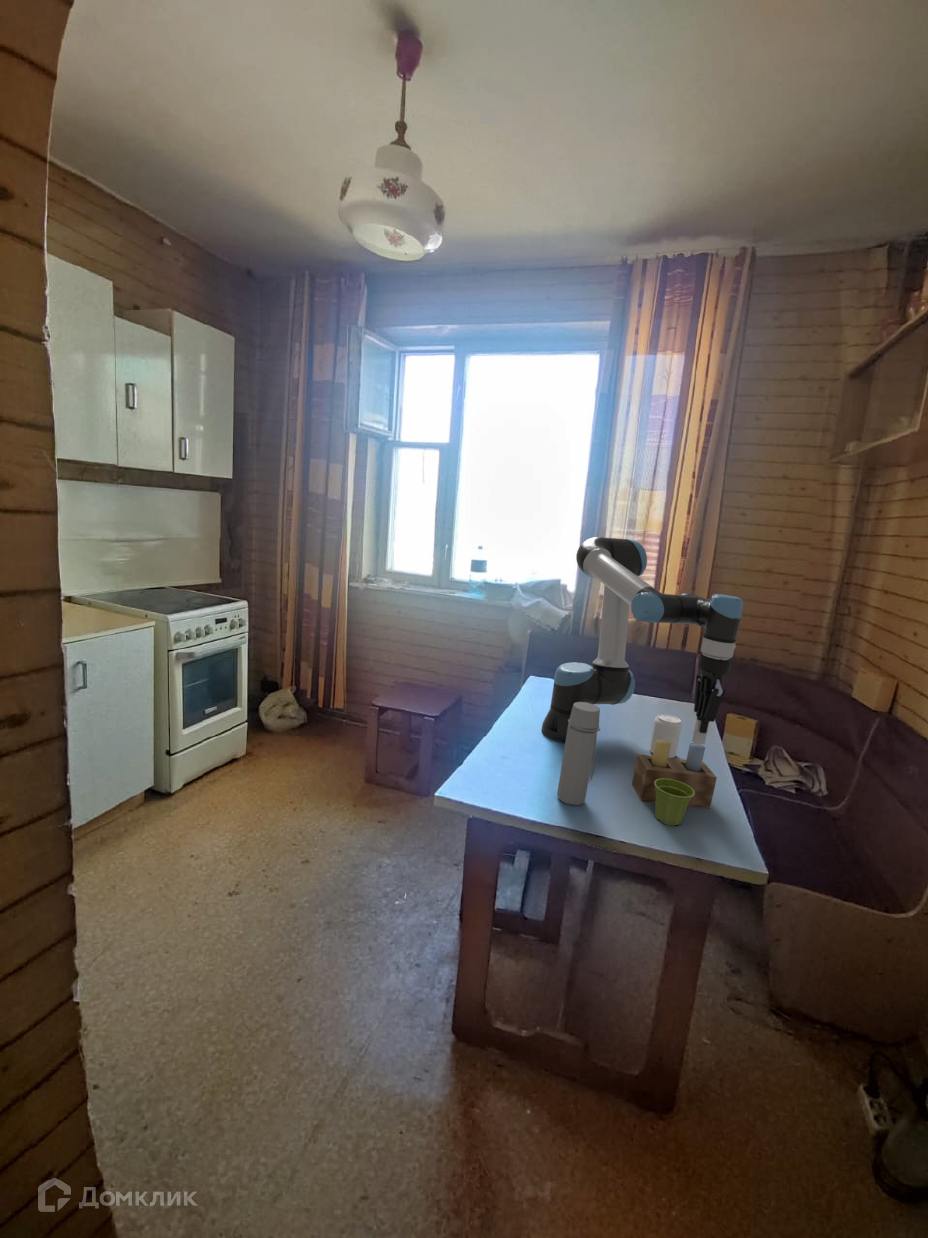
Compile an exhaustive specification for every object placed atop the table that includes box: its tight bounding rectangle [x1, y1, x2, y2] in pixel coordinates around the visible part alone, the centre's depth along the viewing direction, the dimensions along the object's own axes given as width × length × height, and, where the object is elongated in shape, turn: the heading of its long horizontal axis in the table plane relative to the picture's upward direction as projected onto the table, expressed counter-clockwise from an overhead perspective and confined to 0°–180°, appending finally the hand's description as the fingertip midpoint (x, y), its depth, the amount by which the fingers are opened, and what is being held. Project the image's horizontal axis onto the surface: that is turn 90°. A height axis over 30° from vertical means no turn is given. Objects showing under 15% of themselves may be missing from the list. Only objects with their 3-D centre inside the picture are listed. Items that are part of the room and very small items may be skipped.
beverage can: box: [648, 713, 683, 758], centre depth 180 cm, size 8×8×12 cm
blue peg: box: [685, 742, 706, 772], centre depth 151 cm, size 4×4×8 cm
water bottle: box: [556, 702, 601, 806], centre depth 144 cm, size 9×8×25 cm
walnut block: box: [631, 754, 717, 810], centre depth 152 cm, size 18×9×9 cm, turn 89°
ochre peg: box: [651, 739, 671, 768], centre depth 151 cm, size 4×4×8 cm
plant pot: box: [654, 778, 695, 827], centre depth 141 cm, size 9×9×9 cm
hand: (698, 742), depth 150 cm, fingers closed
